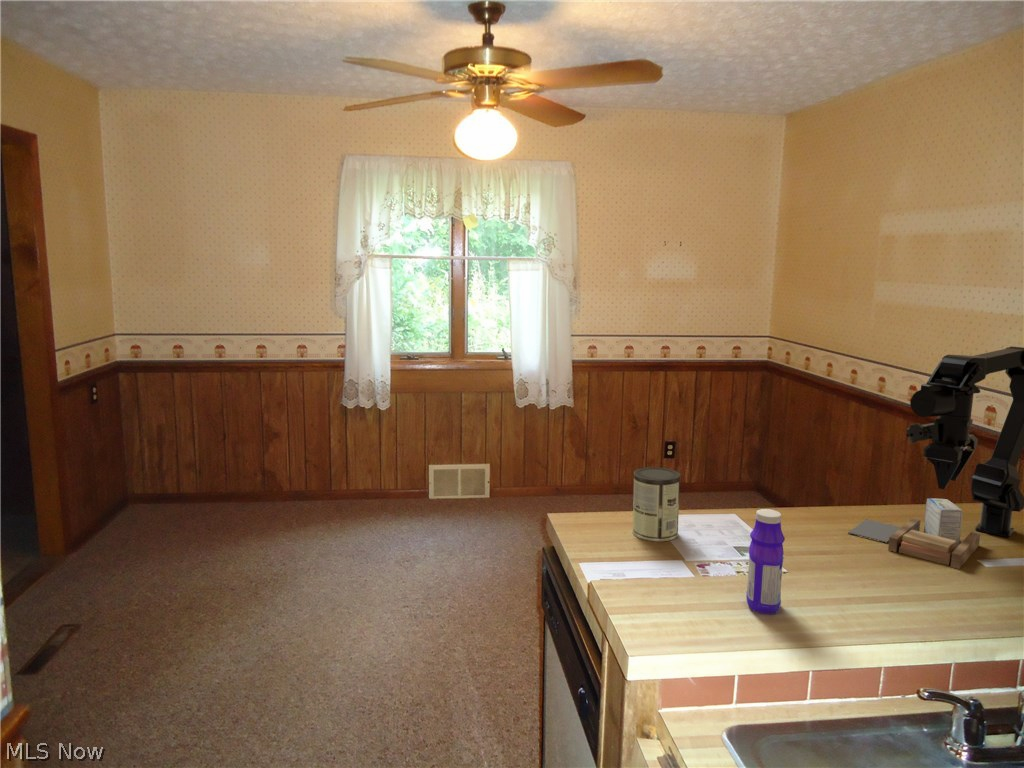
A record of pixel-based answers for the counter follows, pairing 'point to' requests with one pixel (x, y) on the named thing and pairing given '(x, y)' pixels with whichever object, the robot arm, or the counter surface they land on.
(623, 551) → the counter surface
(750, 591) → the bottle
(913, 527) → the rack
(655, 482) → the coffee can
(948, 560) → the offcut stack
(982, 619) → the counter surface
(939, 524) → the medicine box
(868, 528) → the mat
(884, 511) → the counter surface
